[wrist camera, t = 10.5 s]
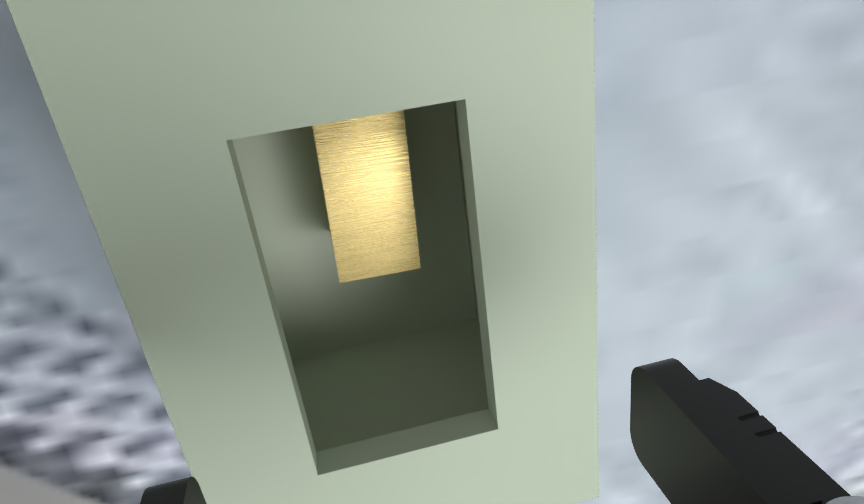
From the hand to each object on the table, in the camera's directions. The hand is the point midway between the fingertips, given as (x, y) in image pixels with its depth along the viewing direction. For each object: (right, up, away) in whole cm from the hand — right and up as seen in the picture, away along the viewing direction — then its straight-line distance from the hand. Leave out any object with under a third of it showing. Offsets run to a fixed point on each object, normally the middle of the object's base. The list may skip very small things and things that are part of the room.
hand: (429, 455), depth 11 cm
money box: (-4, +7, +16) cm, 18 cm away
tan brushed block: (-3, +9, +11) cm, 15 cm away
